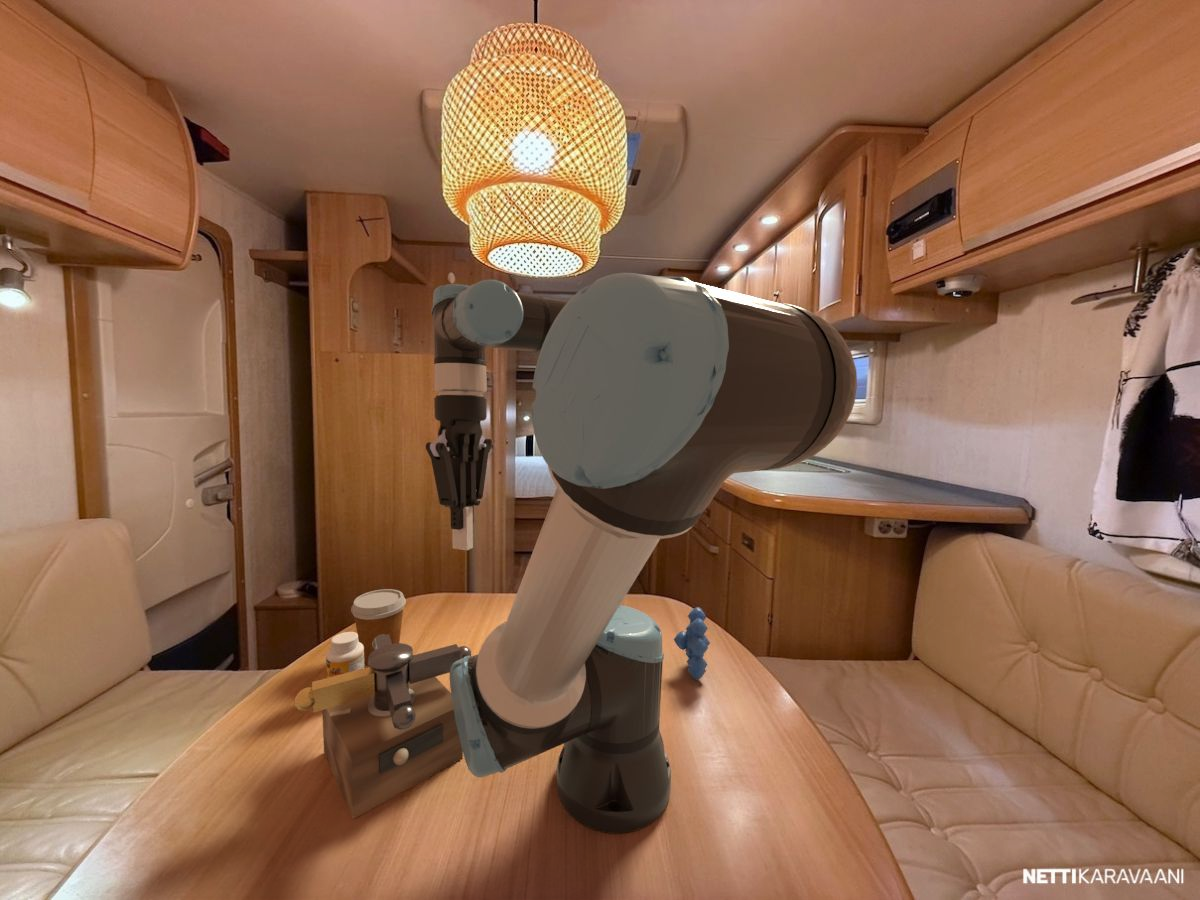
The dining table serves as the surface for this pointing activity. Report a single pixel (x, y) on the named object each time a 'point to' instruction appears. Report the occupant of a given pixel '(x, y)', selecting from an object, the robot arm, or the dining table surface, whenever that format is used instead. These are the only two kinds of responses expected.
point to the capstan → (383, 679)
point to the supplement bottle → (344, 654)
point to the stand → (389, 745)
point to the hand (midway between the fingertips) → (462, 547)
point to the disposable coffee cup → (378, 617)
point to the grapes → (694, 643)
